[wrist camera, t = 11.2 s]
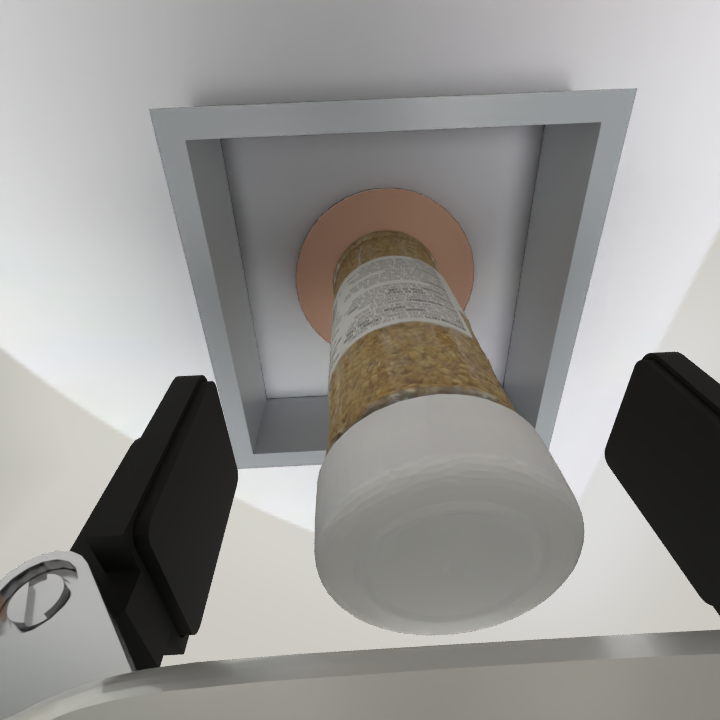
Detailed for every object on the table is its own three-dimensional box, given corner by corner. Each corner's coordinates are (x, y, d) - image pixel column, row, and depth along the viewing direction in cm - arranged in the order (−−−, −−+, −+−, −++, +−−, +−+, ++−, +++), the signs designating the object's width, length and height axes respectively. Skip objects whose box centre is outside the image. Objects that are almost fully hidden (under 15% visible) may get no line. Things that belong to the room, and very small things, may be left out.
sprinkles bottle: (423, 334, 20) (533, 652, 9) (324, 320, 20) (298, 641, 8) (450, 234, 18) (649, 487, 6) (339, 216, 17) (330, 455, 6)
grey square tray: (191, 106, 16) (149, 109, 12) (572, 90, 16) (636, 88, 12) (253, 412, 22) (237, 468, 19) (516, 398, 23) (547, 452, 19)
